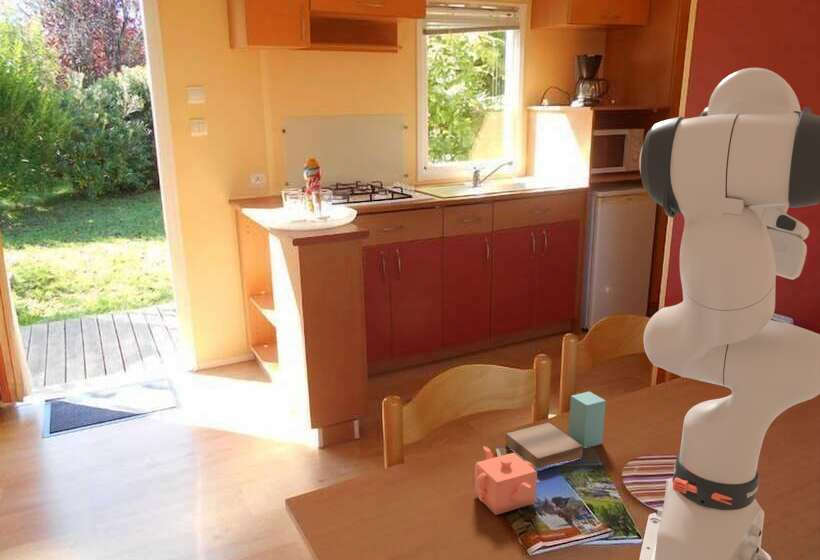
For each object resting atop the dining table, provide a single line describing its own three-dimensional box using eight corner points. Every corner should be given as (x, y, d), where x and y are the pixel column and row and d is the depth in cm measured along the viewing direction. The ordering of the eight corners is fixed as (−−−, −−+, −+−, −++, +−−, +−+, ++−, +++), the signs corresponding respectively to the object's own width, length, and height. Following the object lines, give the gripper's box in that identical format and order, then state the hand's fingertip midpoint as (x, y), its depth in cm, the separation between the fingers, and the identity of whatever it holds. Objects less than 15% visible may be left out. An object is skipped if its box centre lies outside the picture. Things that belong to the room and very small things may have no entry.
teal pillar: (602, 443, 137) (605, 400, 134) (583, 449, 134) (586, 405, 132) (586, 433, 141) (589, 391, 138) (568, 438, 139) (570, 395, 136)
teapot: (499, 534, 108) (500, 490, 106) (455, 488, 121) (456, 448, 119) (556, 515, 113) (559, 473, 110) (509, 473, 126) (510, 434, 124)
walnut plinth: (581, 459, 131) (582, 445, 130) (537, 472, 126) (538, 458, 125) (548, 435, 140) (548, 422, 139) (505, 446, 136) (506, 433, 135)
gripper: (695, 198, 123) (668, 267, 124) (813, 227, 110) (782, 303, 111) (705, 205, 127) (679, 271, 129) (819, 234, 114) (789, 306, 116)
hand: (727, 286), depth 120 cm, fingers open, 8 cm apart
